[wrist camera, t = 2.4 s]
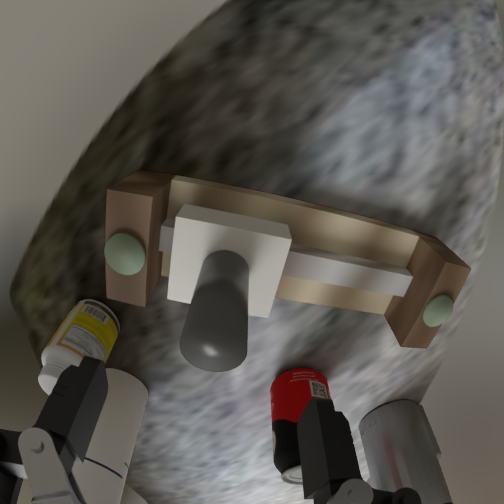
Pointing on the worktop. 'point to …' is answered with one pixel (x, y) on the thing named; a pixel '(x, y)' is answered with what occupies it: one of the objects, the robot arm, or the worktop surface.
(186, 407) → the worktop surface
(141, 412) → the cylindrical container
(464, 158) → the worktop surface
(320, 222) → the rail
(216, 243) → the carriage
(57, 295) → the worktop surface
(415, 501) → the robot arm
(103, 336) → the supplement bottle
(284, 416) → the beverage can
